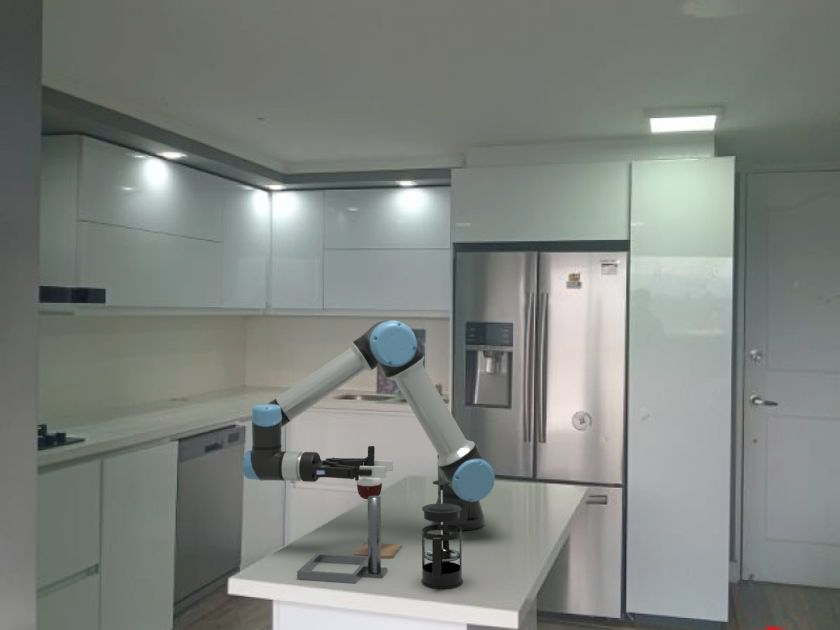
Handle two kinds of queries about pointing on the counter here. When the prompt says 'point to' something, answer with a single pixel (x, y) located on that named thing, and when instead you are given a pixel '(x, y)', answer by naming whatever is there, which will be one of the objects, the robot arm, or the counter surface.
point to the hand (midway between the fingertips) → (389, 469)
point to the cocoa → (369, 480)
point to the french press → (441, 545)
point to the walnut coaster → (386, 550)
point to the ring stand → (368, 564)
